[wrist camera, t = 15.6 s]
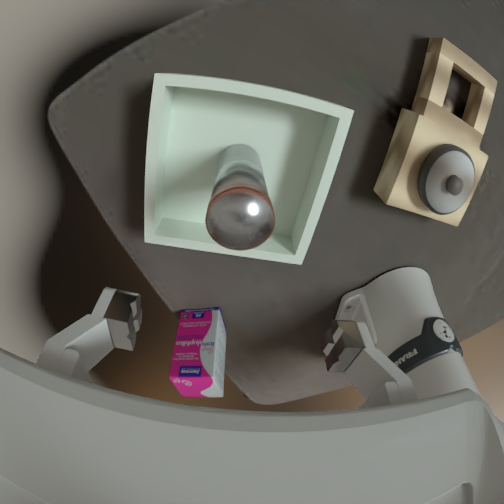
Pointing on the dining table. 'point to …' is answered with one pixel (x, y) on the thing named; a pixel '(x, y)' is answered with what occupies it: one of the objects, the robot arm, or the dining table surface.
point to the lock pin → (240, 201)
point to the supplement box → (199, 354)
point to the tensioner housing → (438, 140)
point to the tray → (229, 133)
